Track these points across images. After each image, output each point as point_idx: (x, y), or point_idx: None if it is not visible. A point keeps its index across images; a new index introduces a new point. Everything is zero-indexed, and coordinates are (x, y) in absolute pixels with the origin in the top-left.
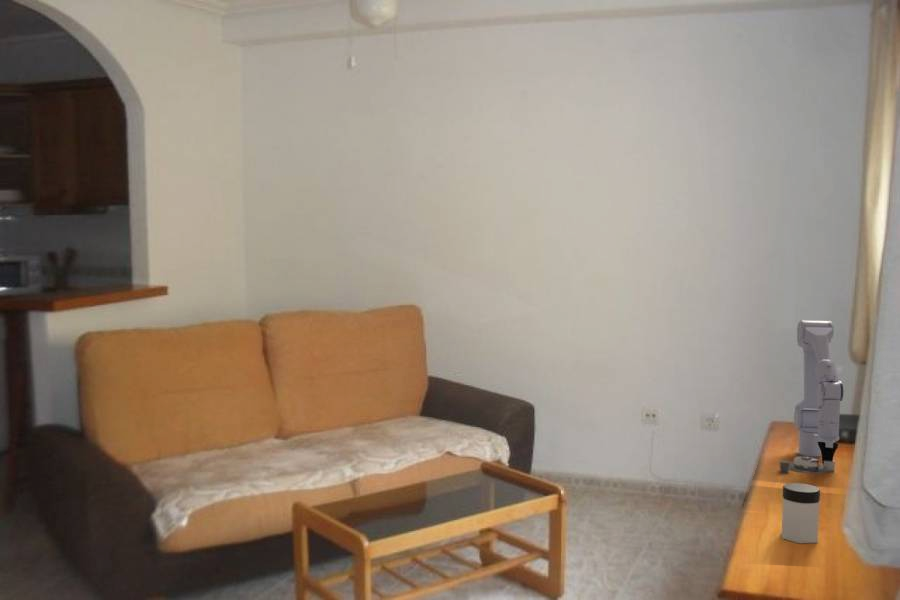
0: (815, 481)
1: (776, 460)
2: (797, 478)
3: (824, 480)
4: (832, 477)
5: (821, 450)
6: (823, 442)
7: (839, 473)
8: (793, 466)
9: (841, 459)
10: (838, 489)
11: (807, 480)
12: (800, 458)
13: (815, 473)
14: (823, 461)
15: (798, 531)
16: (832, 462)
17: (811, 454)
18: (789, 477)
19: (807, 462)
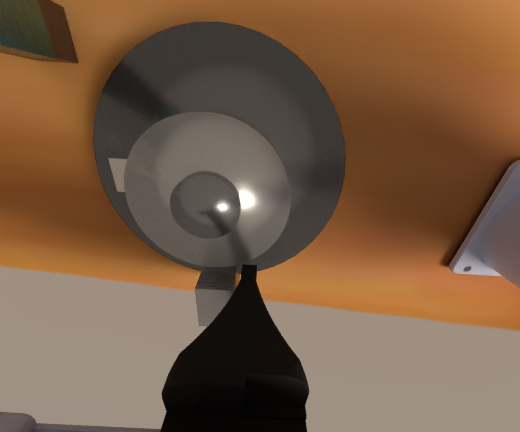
0: (76, 202)
1: (513, 6)
2: (73, 122)
3: (120, 237)
4: (188, 267)
5: (205, 332)
6: (238, 412)
7: (262, 292)
8: (224, 111)
9: (482, 319)
10: (15, 266)
11: (68, 170)
12: (220, 166)
13: (121, 217)
14: (240, 281)
15: None
16: (199, 314)
17: (507, 239)
18: (63, 74)
19: (128, 202)
